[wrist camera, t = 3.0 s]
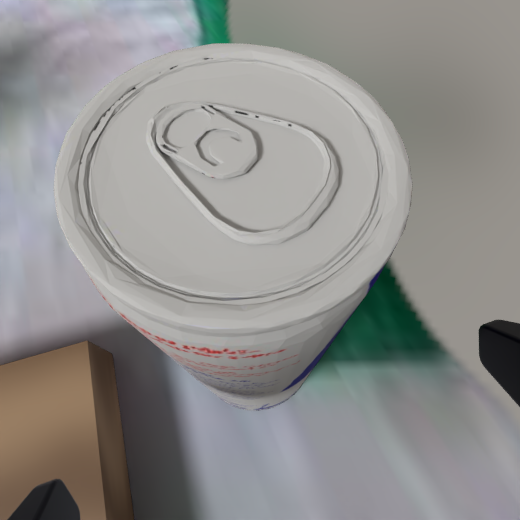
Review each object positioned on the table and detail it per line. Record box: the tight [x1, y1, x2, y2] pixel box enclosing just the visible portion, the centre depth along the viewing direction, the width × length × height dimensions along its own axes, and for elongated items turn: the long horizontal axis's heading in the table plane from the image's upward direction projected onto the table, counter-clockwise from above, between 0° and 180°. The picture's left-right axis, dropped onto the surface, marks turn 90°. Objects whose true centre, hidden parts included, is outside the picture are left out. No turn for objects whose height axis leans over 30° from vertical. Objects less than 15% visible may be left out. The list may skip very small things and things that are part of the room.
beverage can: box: [54, 44, 412, 410], centre depth 12 cm, size 6×6×15 cm
